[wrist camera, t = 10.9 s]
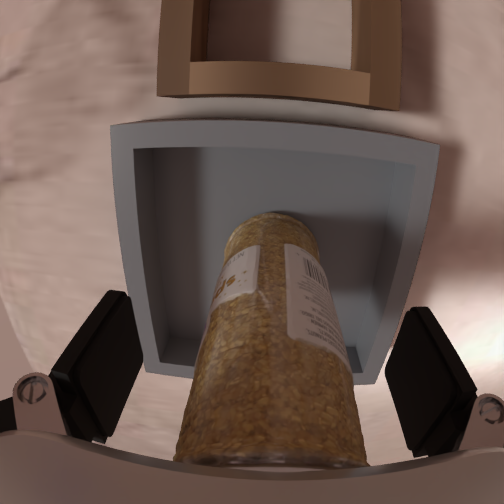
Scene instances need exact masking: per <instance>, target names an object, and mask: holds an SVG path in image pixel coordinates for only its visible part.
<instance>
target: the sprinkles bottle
mask: <svg viewBox="0 0 504 504" xmlns="http://www.w3.org/2000/svg"><path fill="white" fill-rule="evenodd" d="M224 256H225V258H224V264H223V267H222V270H221V272H220V274H219V277H218V280H217V283H216V287H215V291H214V294H213V298H212V302H211V307H210V311H209V314H208V318H207V321H206V325H205V329H204V332H203V336H202V340H201V344H200V347H199V351H198V355H197V358H196V362H195V368H194V378H193V382H192V387H191V390H190V395H189V398H188V402H187V405H186V408H185V411H184V417H183V421H182V426H181V431H180V434H179V440H178V442H177V444H176V454H175V456H174V457H173V461H175V462H181V463H187V464H194V465H202V466H210V467H219V468H230V469H242V470H256V471H271V472H299V471H319V470H337V469H350V468H360V467H369V466H370V465H369V464H368V463H367V461H366V460H367V456H366V451H365V447H364V439H363V435H362V432H361V425H360V420H359V415H358V409H357V405H356V401H355V398H354V396H355V395H354V391H353V389H354V382H353V374H352V370H351V366H350V362H349V358H348V355H347V351H346V347H345V343H344V339H343V335H342V331H341V328H340V324H339V320H338V316H337V313H336V309H335V305H334V302H333V298H332V295H331V291H330V288H329V284H328V281H327V278H326V275H325V272H324V270H323V268H322V267H321V265H320V261H319V260H320V255H319V248H318V245H317V242H316V239H315V237H314V235H313V234H312V232H311V231H310V230H309V229H308V228H307V227H306V226H305V225H304V224H303V223H302V222H300V221H298V220H296V219H295V218H292V217H290V216H288V215H283V214H277V213H264V214H259V215H256V216H253V217H251V218H250V219H248V220H246V221H244V222H243V223H241V224H240V225H239V226H238V227H237V228H236V229H235V230H234V231H233V233H232V234H231V236H230V237H229V239H228V242H227V244H226V247H225V250H224Z"/></svg>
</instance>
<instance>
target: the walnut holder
mask: <svg viewBox="0 0 504 504" xmlns="http://www.w3.org/2000/svg"><path fill="white" fill-rule="evenodd" d="M209 4H210V0H162V4H161V16H160V29H159V45H158V67H157V96H160V97H171V98H200V97H246V98H272V99H288V100H301V101H312V102H322V103H330V104H339V105H346V106H353V107H360V108H366V109H373V110H390V111H399V108H400V92H401V68H402V20H401V0H352V56H351V70H347V69H340V68H333V67H325V66H316V65H306V64H295V63H281V62H261V61H206V59H207V37H208V19H209Z"/></svg>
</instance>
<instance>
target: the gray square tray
mask: <svg viewBox="0 0 504 504" xmlns="http://www.w3.org/2000/svg"><path fill="white" fill-rule="evenodd" d="M110 135H111V157H112V173H113V186H114V197H115V207H116V216H117V225H118V233H119V240H120V247H121V254H122V261H123V267H124V273H125V279H126V284H127V290H128V295H129V297H130V298H131V300H132V305H133V310H134V315H135V320H136V325H137V329H138V334H139V338H140V343H141V347H142V351H143V363H144V366H145V370H146V372H149V373H155V374H162V375H169V376H176V377H184V378H192V379H193V378H194V368H195V362H196V358H197V355H198V351H199V347H200V344H201V340H202V336H203V332H204V329H205V325H206V321H207V318H208V314H209V311H210V307H211V302H212V298H213V294H214V291H215V287H216V283H217V280H218V277H219V274H220V272H221V270H222V267H223V264H224V258H225V256H224V250H225V247H226V244H227V242H228V239H229V237H230V236H231V234H232V233H233V231H234V230H235V229H236V228H237V227H238V226H239V225H240V224H241V223H243V222H244V221H246V220H248V219H250V218H251V217H253V216H256V215H259V214H264V213H277V214H283V215H288V216H290V217H292V218H295V219H296V220H298V221H300V222H302V223H303V224H304V225H305V226H306V227H307V228H308V229H309V230H310V231H311V232H312V234H313V235H314V237H315V239H316V242H317V245H318V248H319V255H320V260H319V261H320V265H321V267H322V268H323V270H324V272H325V275H326V278H327V281H328V284H329V288H330V291H331V295H332V298H333V302H334V305H335V309H336V313H337V316H338V320H339V324H340V328H341V331H342V335H343V339H344V343H345V347H346V351H347V355H348V358H349V362H350V366H351V370H352V374H353V382H354V385H367V384H375V382H376V380H377V377H378V375H379V373H380V370H381V368H382V365H383V363H384V361H385V358H386V355H387V353H388V350H389V348H390V345H391V342H392V340H393V337H394V334H395V332H396V329H397V326H398V323H399V320H400V317H401V314H402V311H403V308H404V305H405V302H406V299H407V296H408V293H409V289H410V286H411V283H412V279H413V276H414V272H415V269H416V265H417V261H418V258H419V254H420V250H421V246H422V242H423V238H424V233H425V229H426V224H427V220H428V215H429V210H430V205H431V200H432V195H433V189H434V184H435V178H436V171H437V165H438V157H439V150H440V145H438V144H435V143H431V142H428V141H424V140H420V139H417V138H413V137H408V136H403V135H397V134H392V133H386V132H380V131H374V130H367V129H360V128H353V127H345V126H337V125H328V124H318V123H308V122H296V121H281V120H263V119H230V118H200V119H167V120H149V121H137V122H130V123H123V124H117V125H111V126H110Z"/></svg>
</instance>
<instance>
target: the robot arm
mask: <svg viewBox="0 0 504 504" xmlns="http://www.w3.org/2000/svg"><path fill="white" fill-rule="evenodd" d="M142 363H143V351H142V347H141V343H140V338H139V334H138V329H137V325H136V320H135V315H134V310H133V305H132V300H131V298H130V297H129V296H127V294H126V293H125V292H124V291H115V290H109V291H107V293H106V294H105V295H104V297H103V298H102V299H101V300H100V302H99V303H98V304H97V306H96V307H95V308H94V310H93V311H92V312H91V314H90V315H89V316H88V318H87V319H86V321H85V322H84V323H83V325H82V326H81V327H80V329H79V330H78V332H77V333H76V334H75V336H74V337H73V339H72V340H71V341H70V343H69V344H68V346H67V347H66V349H65V350H64V352H63V353H62V354H61V356H60V357H59V359H58V360H57V362H56V363H55V365H54V366H53V368H52V369H51V372H50V374H49V375H48V376H47V375H45V374H43V373H38V372H35V373H30V374H27V375H25V376H23V377H22V378H20V379H19V380H18V381H17V383H16V384H15V386H14V388H13V397H10V398H8V399H5V400H2V401H0V504H504V401H503V400H502V399H501V398H500V397H498V396H496V395H493V394H482V395H480V396H479V397H477V395H476V391H477V388H476V386H475V384H474V382H473V380H472V378H471V377H470V375H469V373H468V371H467V369H466V368H465V366H464V364H463V362H462V361H461V359H460V357H459V355H458V354H457V352H456V350H455V349H454V347H453V345H452V344H451V342H450V340H449V339H448V337H447V335H446V334H445V332H444V331H443V329H442V327H441V326H440V324H439V323H438V321H437V320H436V318H435V316H434V315H433V313H432V312H431V310H430V309H429V308H428V307H412V308H411V309H410V311H407V312H406V314H405V317H404V320H403V322H402V325H401V328H400V331H399V333H398V336H397V339H396V342H395V344H394V347H393V349H392V352H391V354H390V357H389V359H388V362H387V364H386V367H385V377H386V380H387V383H388V386H389V389H390V392H391V395H392V398H393V401H394V404H395V408H396V411H397V414H398V417H399V421H400V424H401V427H402V431H403V434H404V437H405V441H406V444H407V448H408V449H409V450H412V453H413V456H414V458H416V457H421V456H425V455H428V457H426V458H421V459H415V460H409V461H404V462H398V463H391V464H385V465H377V466H369V467H360V468H350V469H337V470H319V471H299V472H271V471H256V470H242V469H230V468H219V467H210V466H202V465H194V464H187V463H181V462H175V461H169V460H163V459H158V458H153V457H148V456H144V455H139V454H135V453H130V452H126V451H122V450H118V449H114V448H110V447H106V446H102V445H98V444H95V443H91V442H92V440H93V441H97V442H100V443H103V444H105V442H106V440H107V437H108V436H109V437H111V436H112V435H113V433H114V431H115V428H116V426H117V423H118V421H119V418H120V416H121V413H122V411H123V408H124V406H125V404H126V401H127V399H128V396H129V394H130V392H131V389H132V387H133V385H134V382H135V380H136V378H137V375H138V373H139V371H140V368H141V366H142Z"/></svg>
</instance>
